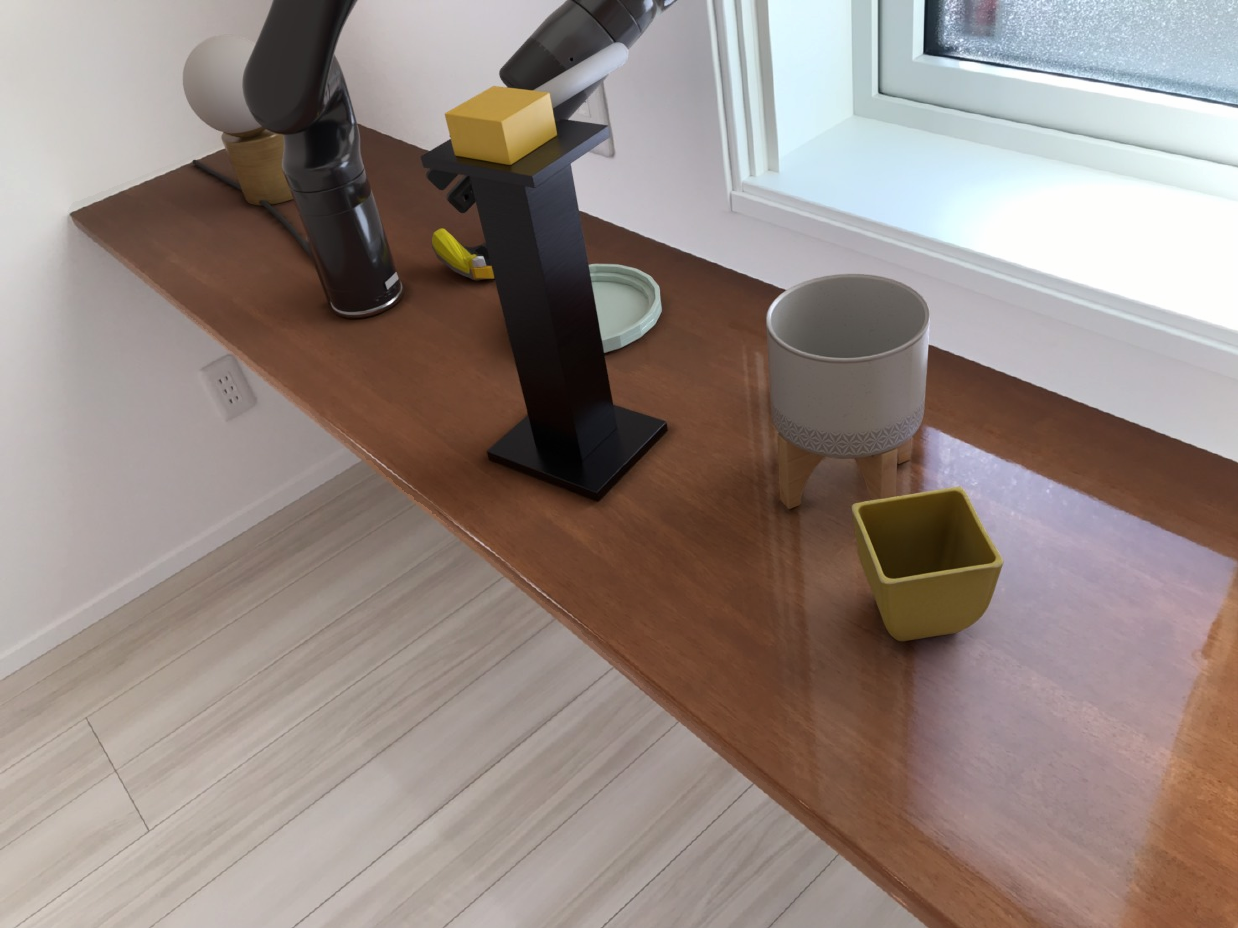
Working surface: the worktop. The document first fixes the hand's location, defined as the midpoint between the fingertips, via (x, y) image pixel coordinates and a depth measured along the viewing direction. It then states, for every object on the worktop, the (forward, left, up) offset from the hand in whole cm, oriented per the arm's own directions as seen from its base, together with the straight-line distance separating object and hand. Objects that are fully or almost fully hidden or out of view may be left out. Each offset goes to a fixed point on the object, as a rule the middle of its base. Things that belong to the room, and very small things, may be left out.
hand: (442, 194), depth 96 cm
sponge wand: (+13, +3, +8) cm, 16 cm away
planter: (+39, +4, -24) cm, 46 cm away
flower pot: (+51, -8, -24) cm, 57 cm away
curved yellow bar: (-21, +24, -24) cm, 40 cm away
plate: (-1, +17, -24) cm, 30 cm away
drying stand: (+13, -3, -24) cm, 28 cm away
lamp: (-72, +27, -24) cm, 81 cm away
